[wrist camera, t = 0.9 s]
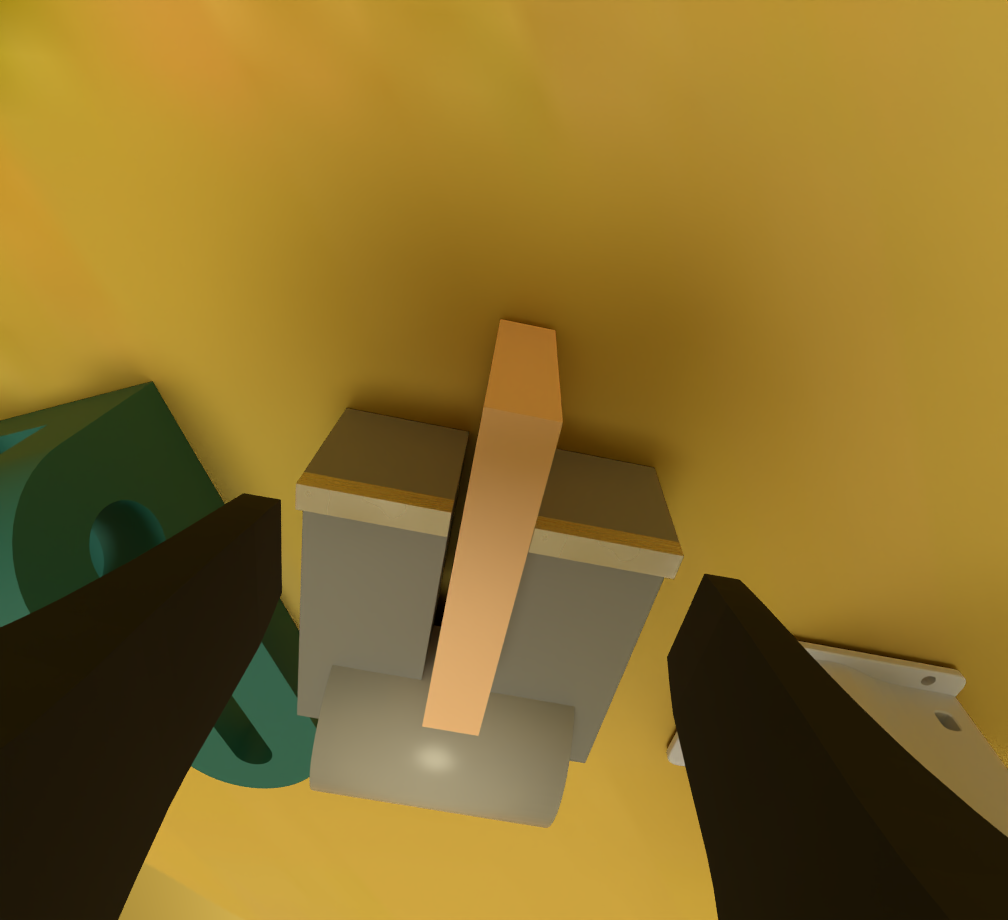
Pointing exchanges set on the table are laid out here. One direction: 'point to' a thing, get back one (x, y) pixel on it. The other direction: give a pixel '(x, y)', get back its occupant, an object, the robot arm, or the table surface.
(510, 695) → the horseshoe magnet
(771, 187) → the table surface
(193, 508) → the bracket
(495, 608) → the orange wooden slat
